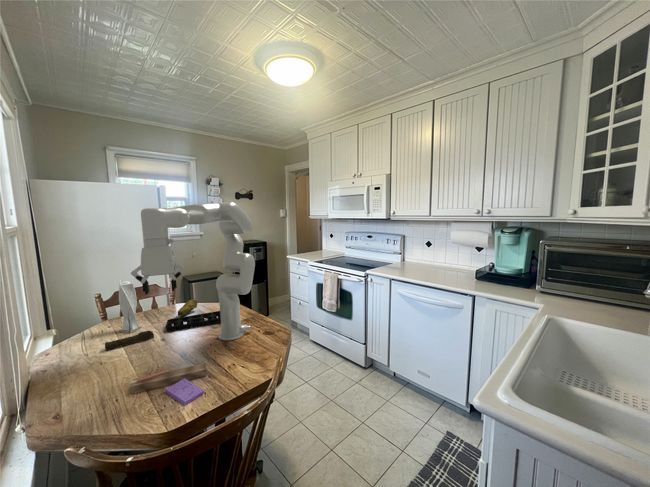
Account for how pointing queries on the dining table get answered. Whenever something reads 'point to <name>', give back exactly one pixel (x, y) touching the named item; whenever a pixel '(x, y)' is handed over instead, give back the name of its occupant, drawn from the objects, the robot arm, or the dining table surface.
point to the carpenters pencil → (149, 377)
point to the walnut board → (169, 378)
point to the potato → (187, 307)
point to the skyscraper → (128, 306)
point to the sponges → (184, 391)
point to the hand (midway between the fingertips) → (160, 291)
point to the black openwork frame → (193, 321)
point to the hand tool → (129, 340)
